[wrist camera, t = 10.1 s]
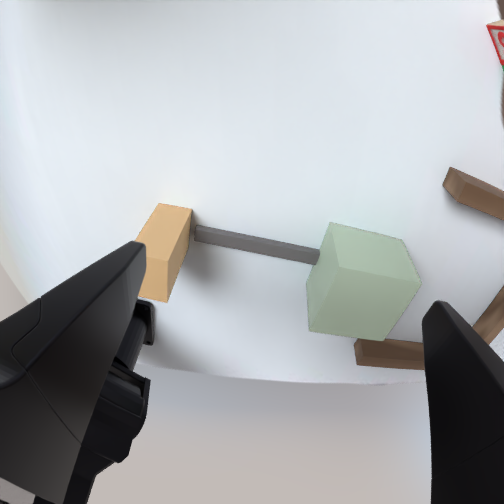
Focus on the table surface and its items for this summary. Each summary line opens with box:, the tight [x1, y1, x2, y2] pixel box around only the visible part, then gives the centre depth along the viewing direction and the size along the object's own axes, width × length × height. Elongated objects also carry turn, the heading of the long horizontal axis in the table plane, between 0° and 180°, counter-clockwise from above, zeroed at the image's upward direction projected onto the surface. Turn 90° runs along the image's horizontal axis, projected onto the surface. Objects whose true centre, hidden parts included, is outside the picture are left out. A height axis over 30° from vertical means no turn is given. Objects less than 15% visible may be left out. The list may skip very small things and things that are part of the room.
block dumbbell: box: [135, 203, 422, 341], centre depth 22 cm, size 6×18×6 cm, turn 79°
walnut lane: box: [354, 167, 504, 370], centre depth 24 cm, size 20×14×2 cm
